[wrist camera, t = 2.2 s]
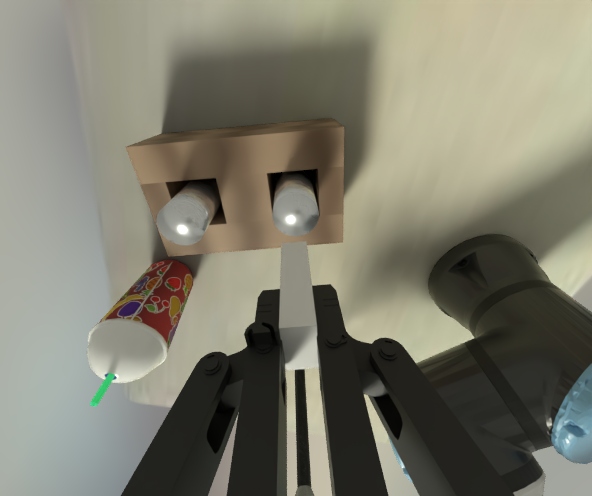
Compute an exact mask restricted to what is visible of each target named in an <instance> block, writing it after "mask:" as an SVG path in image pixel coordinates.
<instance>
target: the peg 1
mask: <svg viewBox="0 0 592 496" xmlns="http://www.w3.org/2000/svg"><path fill="white" fill-rule="evenodd" d="M221 203H222V201H221V197H220V193H219V189H218V185H217V183H216V182H214V181H213V180H211V179H209V178H207V179H196V180H191V181H190V182H189V183H188V184H187V185H186V186H185V187H184V188H183V189H182V190H181V191H180V192H179V193H178V194H176V195H175V196H174V197H173V198H172V199H171V200H170V201H169V202H168V203H167V204H166V205H165V206H164V207H163V208H162V209H161V210H160V211H159V213H158V215H157V226H158V229H159V231H160V232H161V234H162V235H163V236H164V237H165V238H166V239H167V240H169V241H171V242H173V243H175V244H178V245H192V244H195V243H197V242H198V241H199V240H200V239H201V238H202V236H203V235H204V233H205V231H206V229H207V228H208V226H209V224H210V222H211V221H212V219H213V217H214V215H215V214H216V212H217V210H218V208H219V207H220V205H221Z"/></svg>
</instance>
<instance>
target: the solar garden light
mask: <svg viewBox="0 0 592 496" xmlns="http://www.w3.org/2000/svg"><path fill="white" fill-rule="evenodd" d="M295 398H296V441H297V484H298V489H297V491H296V494H295V496H314V494H313V491H312V489H311V476H310V459H309V442H308V423H307V406H306V388H305V371H304V369H298V370H295Z"/></svg>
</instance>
